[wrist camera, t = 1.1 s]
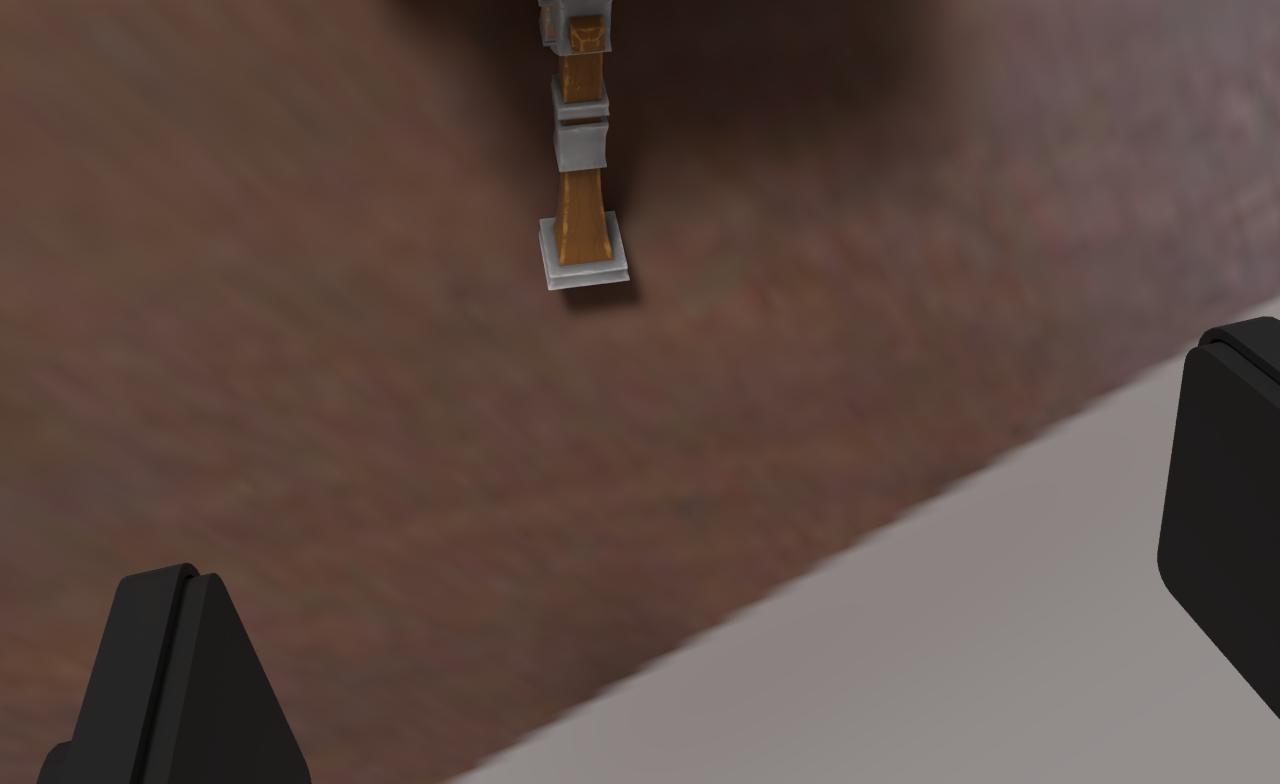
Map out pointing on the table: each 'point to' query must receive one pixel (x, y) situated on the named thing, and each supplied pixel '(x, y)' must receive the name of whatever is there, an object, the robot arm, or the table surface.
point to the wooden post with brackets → (580, 148)
